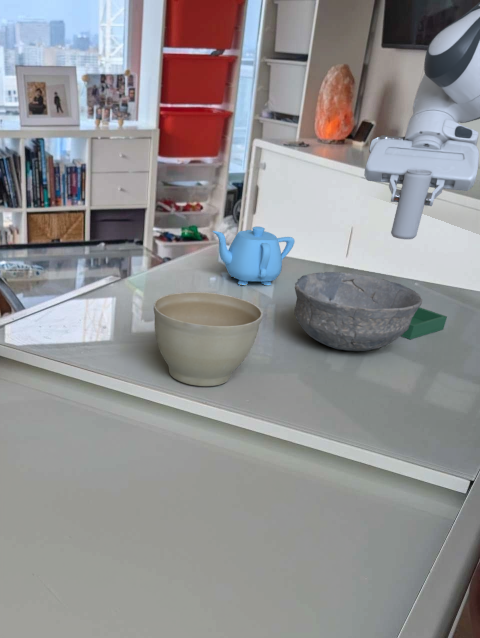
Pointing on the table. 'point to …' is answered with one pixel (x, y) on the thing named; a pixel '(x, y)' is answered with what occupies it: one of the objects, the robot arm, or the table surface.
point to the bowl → (353, 309)
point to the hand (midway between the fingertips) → (411, 202)
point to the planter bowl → (205, 335)
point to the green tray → (424, 323)
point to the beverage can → (411, 203)
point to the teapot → (254, 255)
